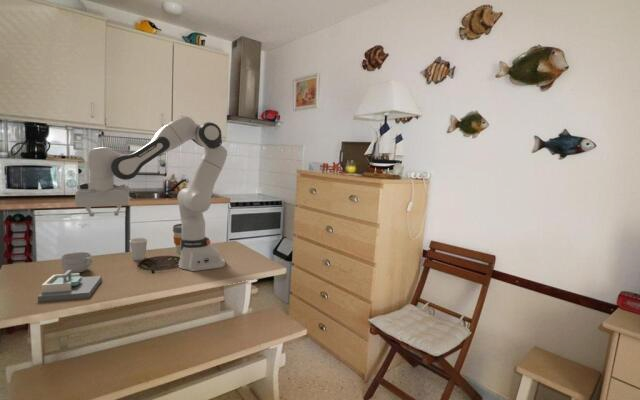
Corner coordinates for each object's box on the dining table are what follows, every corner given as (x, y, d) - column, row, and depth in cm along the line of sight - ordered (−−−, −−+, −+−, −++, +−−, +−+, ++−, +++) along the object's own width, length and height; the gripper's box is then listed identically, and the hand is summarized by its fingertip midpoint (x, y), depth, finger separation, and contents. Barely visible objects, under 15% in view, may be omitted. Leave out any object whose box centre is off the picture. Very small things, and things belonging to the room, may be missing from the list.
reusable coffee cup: (199, 248, 198) (199, 223, 196) (191, 255, 185) (191, 228, 183) (178, 247, 198) (178, 222, 196) (168, 254, 185) (168, 227, 183)
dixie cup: (130, 256, 178) (130, 238, 176) (148, 255, 181) (147, 237, 180) (129, 261, 170) (128, 242, 169) (147, 260, 174) (147, 241, 172)
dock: (101, 280, 145) (101, 269, 145) (89, 297, 129) (88, 285, 128) (57, 283, 140) (56, 271, 139) (38, 301, 123) (37, 288, 122)
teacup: (57, 272, 152) (56, 255, 151) (83, 265, 161) (82, 249, 160) (74, 278, 145) (73, 261, 144) (100, 271, 155) (99, 255, 154)
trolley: (82, 282, 138) (81, 269, 137) (77, 287, 132) (76, 274, 131) (58, 283, 135) (58, 270, 134) (52, 289, 129) (51, 275, 129)
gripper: (130, 183, 153) (132, 213, 155) (77, 184, 146) (79, 215, 148) (128, 185, 147) (129, 216, 149) (72, 185, 140) (75, 218, 142)
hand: (104, 215), depth 148 cm, fingers open, 8 cm apart
